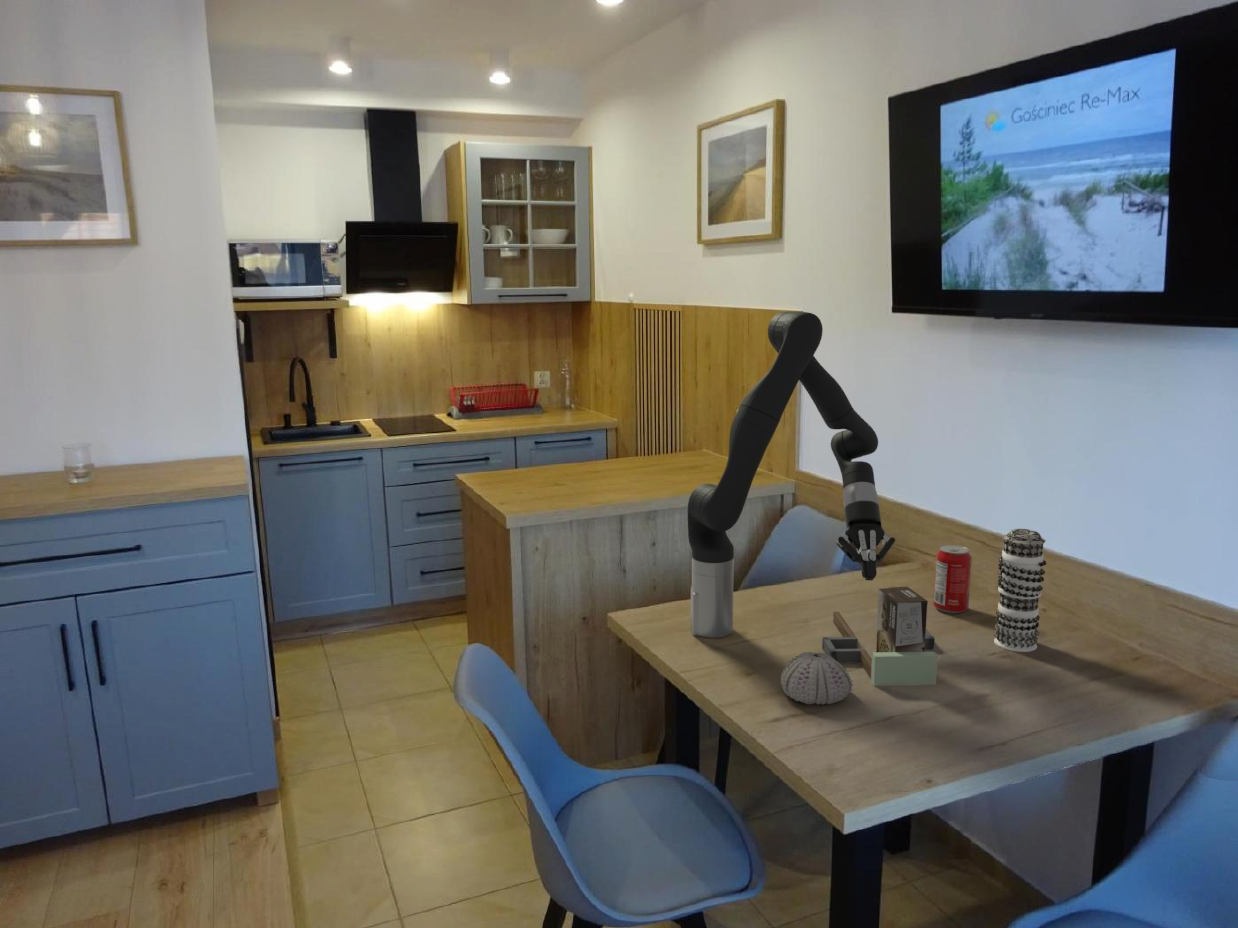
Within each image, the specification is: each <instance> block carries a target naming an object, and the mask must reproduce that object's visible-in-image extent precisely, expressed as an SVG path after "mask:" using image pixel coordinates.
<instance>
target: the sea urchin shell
mask: <svg viewBox="0 0 1238 928" xmlns="http://www.w3.org/2000/svg"><path fill="white" fill-rule="evenodd" d="M780 675H781V676H780V684H781V690H783V693H785V694H786V696H787V697H790V699H793V700H794V701H796V702H800V703H803V704H806V705H812V704H813V705H814V704H816V705H817V706H818V705H823V706H824V705H826V704H828V705H830V704H835V703H838V702H839V701H844V698H846V697H848V695H850V694H851V691H852V690H853V689H852V688H853V686H854V684H853V680H852V678H851V676H850V673H848V671H847V669H846V668H844V666H843V665H842V664H841V663H839V662H837V661H836V660H834V658H832V657H831V656H828V655H827V654H825V652H812V651H811V652H810V651H809V652H807V651H806V652H802V653H800V654H797V655H795V657H794V658H793V657H792V658H791V660H790V661H788V664H787V665H786V666H785V668H784V669H783V670H782V672H781V673H780Z"/></svg>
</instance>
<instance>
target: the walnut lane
mask: <svg viewBox="0 0 1238 928" xmlns="http://www.w3.org/2000/svg"><path fill="white" fill-rule="evenodd" d="M832 616H833V617H832V618H833V619H832V623H833V624H834V625H835V627H836V629H837V630H838V632H839V633H840V635H841V637H857V635H855V633H854V632H853V629H851V627H850V625H848V623H847V621H846V620H845V618H844V617H843V616H842V614H841V613H840V612H839V611H833V615H832ZM859 663H860V665H861V667H862V669H864V671H865V672H866V674H867V676H868V677H869V679H871V667H872V656H871V655H870V654H869V653H868V651H867V650H866V651H860V662H859Z"/></svg>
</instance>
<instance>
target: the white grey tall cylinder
mask: <svg viewBox="0 0 1238 928" xmlns="http://www.w3.org/2000/svg"><path fill="white" fill-rule="evenodd" d="M1002 538H1003V540H1004V541H1003V549H1002V550H1001V552H1002V553H1001V554H1000V556H999V557H997V558H998V567H997V568H998V570H999V572H998V573H997V575H998V576H997V577H998V580H997V585H998V587H997V591H998V592H999V602H997V604H998V605H997V610H996V612H995V614H996V617H995V622H996V624H995V625H994V630H995V631H994V634H993V635H994V636H993V637H995V638H994V639H993V641H994V644H995V645H996V646H998V648H1001V649H1004V650H1006V651H1011V652H1015V653H1016V652H1017V653H1030V652H1034V651H1035V650H1037V648H1038V645H1037V643H1038V639H1039V638H1038V636H1039V630H1038V629H1037V628H1039V626H1040V623H1039V621H1040V619H1041V618H1040V615H1039V614H1040V613H1039V612H1040V608H1039V603H1040V602H1039V598H1040V597H1041V596H1042V595H1043V594H1042V591H1043V590H1044V587H1043V586H1042V585H1040V583H1043V582H1044V581H1045V578H1044V577H1043V575H1045V574H1046V571H1045V570H1044V569H1043V568H1042V567H1043V566H1046V565H1047V561H1046V560H1045V559H1044V556H1045V555H1044V553H1043V552H1044V543H1046V538H1043V537H1042V536H1041V534H1040V533H1039V532H1038V531H1036V530H1033V529H1027V528H1014V529H1011V530H1009V531H1008V533H1007V534H1005V535H1003V536H1002Z"/></svg>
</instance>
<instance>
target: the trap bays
mask: <svg viewBox="0 0 1238 928" xmlns="http://www.w3.org/2000/svg"><path fill="white" fill-rule="evenodd" d="M858 644H859V639H858V637H857V636H856V637H843V636H834V637H833V636H830V637H829V636H827V637H825V636H824V637H822V644H821V646H822V647H821V648H822V650H823V653H824V654H827V655H828V656H831V657H832V658H834V660H836V661H837V662H839V664H841V663H842V664H843V663H848V664H849V663H850V664H851V663H860V651H867V650H866V649H865V648H858V647H859V645H858ZM925 650H935V637H934V636H933V635H932V633H930V632H929V630H928V629H927V628H926V633H925ZM925 650H924V651H925Z"/></svg>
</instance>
